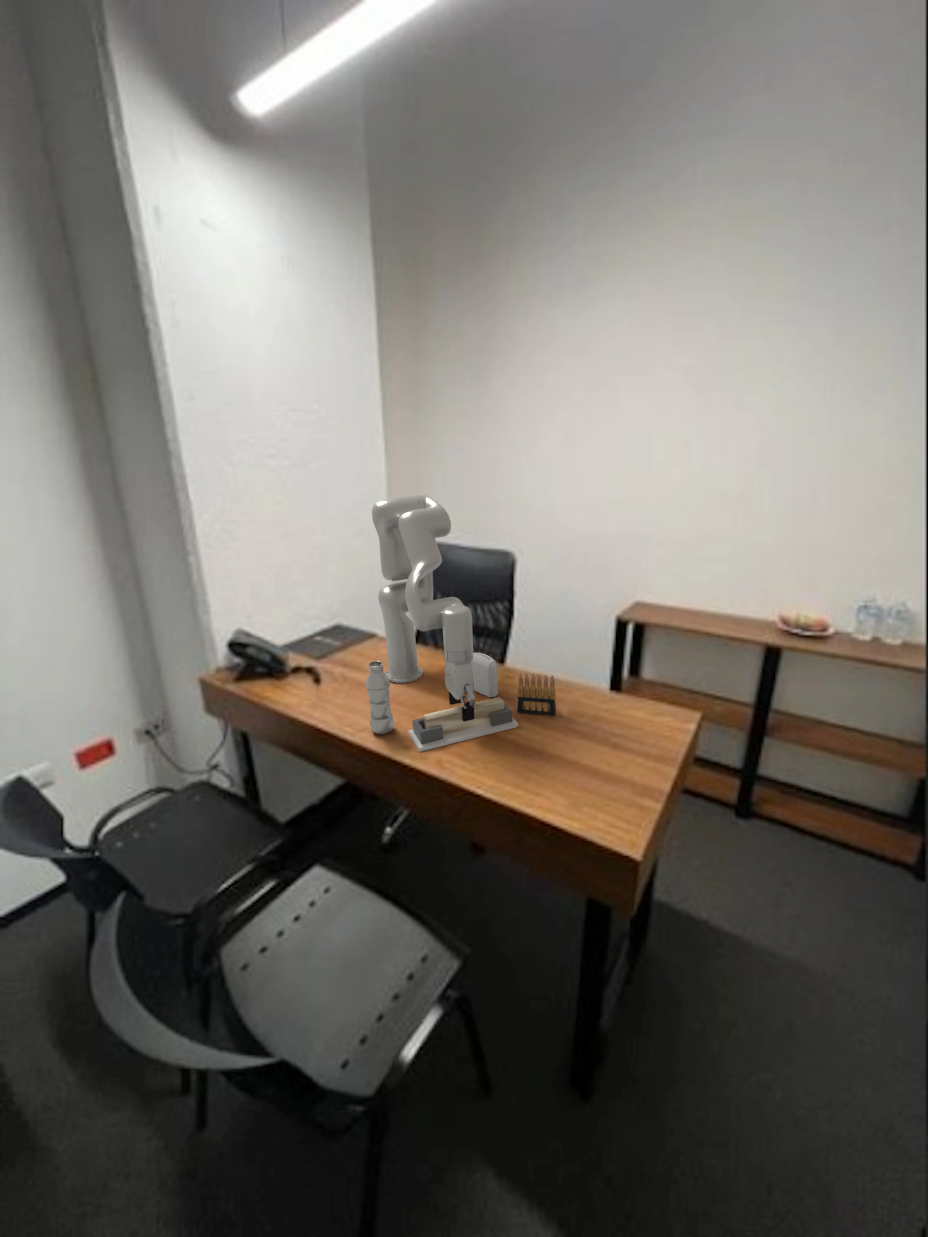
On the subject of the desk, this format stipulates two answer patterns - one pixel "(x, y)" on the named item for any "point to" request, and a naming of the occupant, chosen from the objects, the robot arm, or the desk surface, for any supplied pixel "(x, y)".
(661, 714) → the desk surface
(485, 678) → the photo printer
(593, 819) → the desk surface
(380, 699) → the plastic bottle
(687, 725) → the desk surface
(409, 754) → the desk surface
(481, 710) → the slat
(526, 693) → the ammunition clip
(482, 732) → the end cap board
